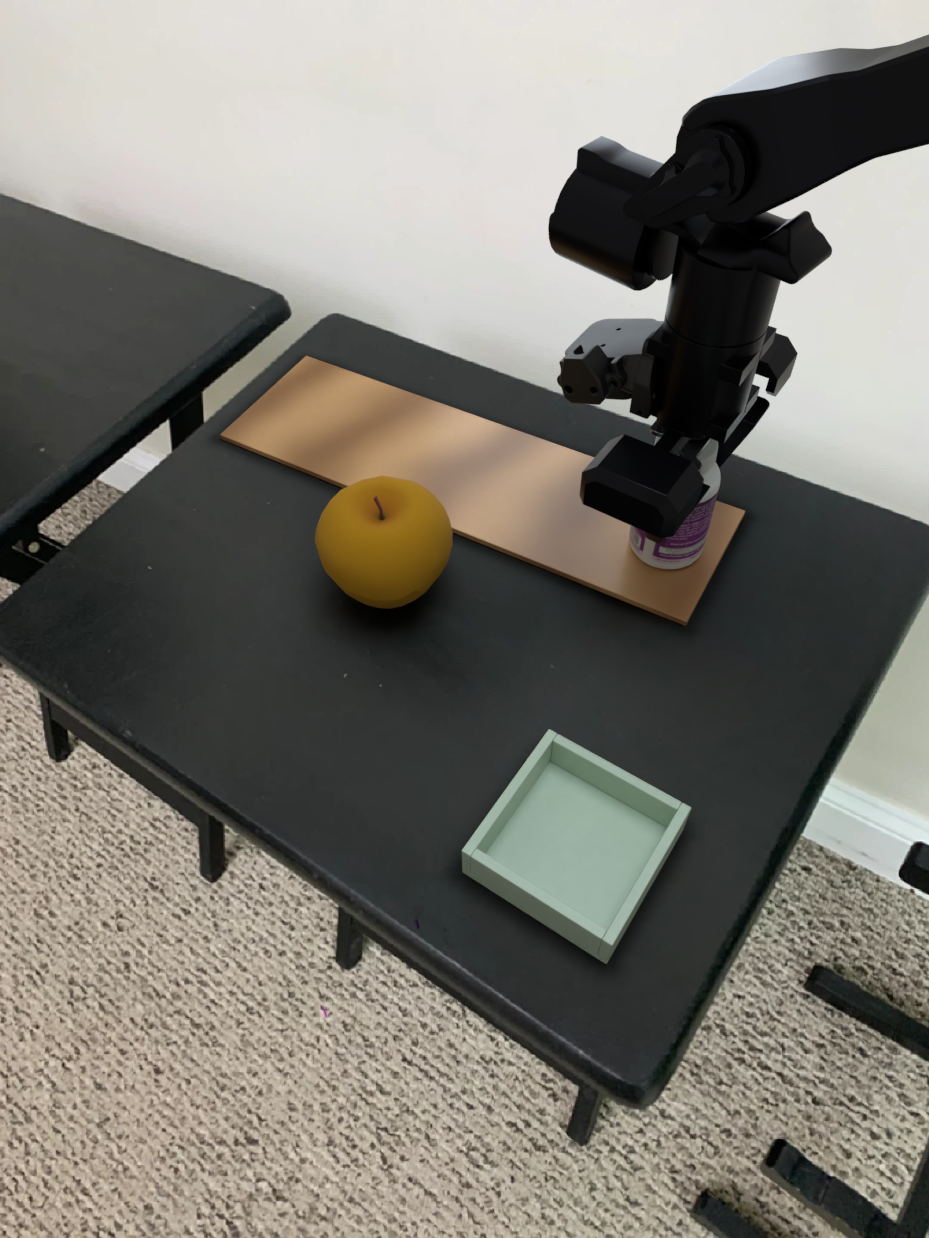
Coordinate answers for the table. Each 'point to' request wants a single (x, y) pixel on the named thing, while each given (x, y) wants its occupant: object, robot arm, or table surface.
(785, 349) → the robot arm
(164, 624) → the table surface
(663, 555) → the pill bottle
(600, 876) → the tray
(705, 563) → the wooden board
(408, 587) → the apple
